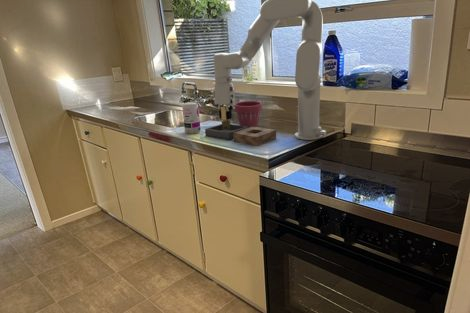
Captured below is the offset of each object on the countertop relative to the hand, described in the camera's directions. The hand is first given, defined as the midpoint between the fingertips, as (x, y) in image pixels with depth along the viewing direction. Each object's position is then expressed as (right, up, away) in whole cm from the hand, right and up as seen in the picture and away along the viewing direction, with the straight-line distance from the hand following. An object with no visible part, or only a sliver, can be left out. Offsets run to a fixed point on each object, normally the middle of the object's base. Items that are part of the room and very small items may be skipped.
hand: (225, 118), depth 170 cm
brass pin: (0, -5, +2) cm, 5 cm away
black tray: (+1, -8, +3) cm, 8 cm away
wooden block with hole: (+14, -11, -9) cm, 20 cm away
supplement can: (-17, -6, +12) cm, 22 cm away
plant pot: (+12, -4, +14) cm, 19 cm away
